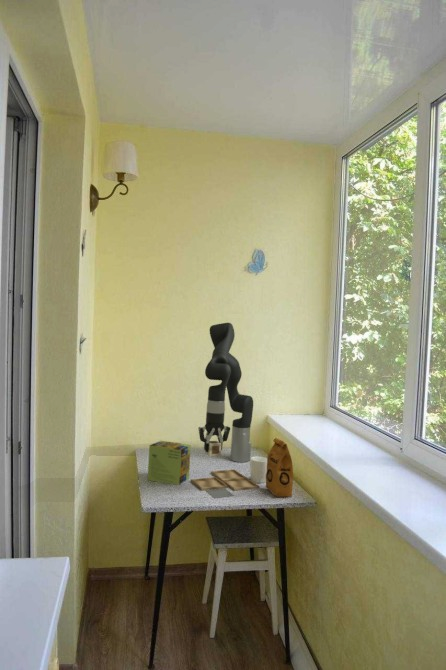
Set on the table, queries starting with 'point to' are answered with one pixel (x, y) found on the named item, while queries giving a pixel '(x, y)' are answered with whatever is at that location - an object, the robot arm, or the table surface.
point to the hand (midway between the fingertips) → (212, 451)
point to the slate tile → (219, 493)
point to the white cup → (258, 469)
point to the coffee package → (279, 470)
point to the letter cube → (214, 448)
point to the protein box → (169, 462)
